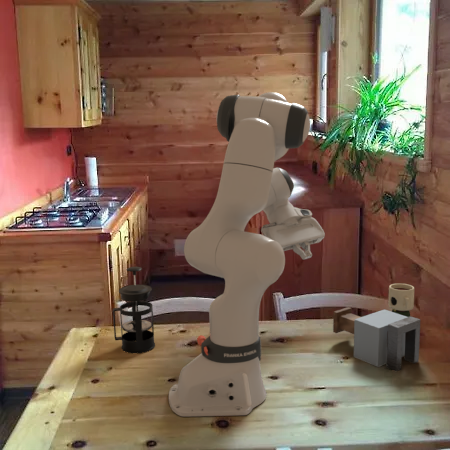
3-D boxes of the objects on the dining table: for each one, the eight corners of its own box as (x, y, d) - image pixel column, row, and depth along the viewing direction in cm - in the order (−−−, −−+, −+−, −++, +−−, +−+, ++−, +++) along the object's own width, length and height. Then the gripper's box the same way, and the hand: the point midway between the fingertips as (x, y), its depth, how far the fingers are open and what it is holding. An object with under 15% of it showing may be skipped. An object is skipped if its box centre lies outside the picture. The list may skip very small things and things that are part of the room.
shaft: (333, 332, 163) (333, 311, 161) (347, 327, 166) (348, 307, 165) (384, 352, 149) (385, 330, 147) (399, 346, 152) (400, 324, 151)
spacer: (386, 367, 147) (388, 324, 144) (408, 357, 152) (410, 316, 150) (396, 371, 144) (398, 327, 142) (418, 361, 150) (420, 319, 147)
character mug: (382, 322, 177) (383, 281, 174) (405, 321, 177) (406, 281, 175) (394, 336, 166) (395, 293, 164) (418, 335, 167) (420, 292, 164)
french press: (155, 338, 169) (151, 261, 164) (159, 351, 160) (155, 270, 155) (114, 343, 166) (109, 265, 162) (116, 356, 157) (111, 274, 153)
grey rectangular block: (353, 356, 153) (354, 319, 151) (383, 345, 160) (384, 309, 158) (377, 367, 147) (379, 328, 145) (407, 354, 154) (409, 317, 152)
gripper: (263, 219, 169) (286, 258, 164) (314, 209, 181) (337, 245, 175) (254, 232, 174) (276, 270, 168) (304, 221, 185) (326, 256, 180)
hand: (307, 257), depth 172 cm, fingers closed
